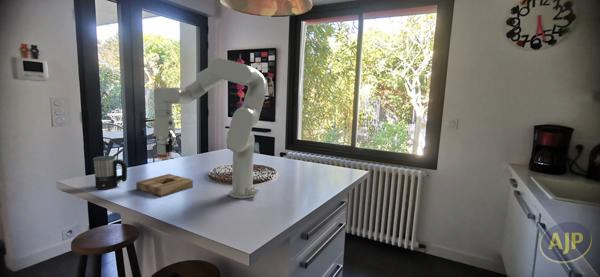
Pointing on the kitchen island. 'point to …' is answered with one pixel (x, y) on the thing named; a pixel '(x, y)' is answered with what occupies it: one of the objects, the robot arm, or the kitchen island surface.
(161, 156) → the pill bottle
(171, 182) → the socket block
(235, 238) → the kitchen island surface
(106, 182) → the milk frother
